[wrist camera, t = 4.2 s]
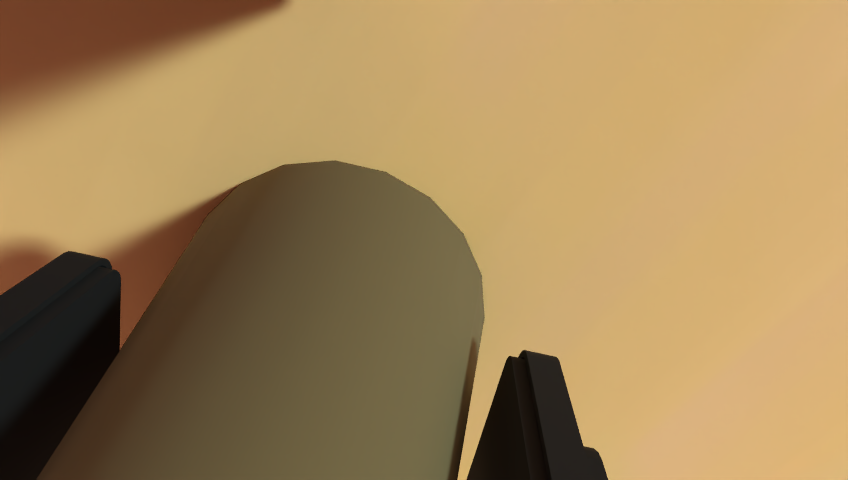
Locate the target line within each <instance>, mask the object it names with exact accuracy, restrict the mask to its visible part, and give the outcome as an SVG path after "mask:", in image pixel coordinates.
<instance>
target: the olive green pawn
mask: <svg viewBox="0 0 848 480" xmlns="http://www.w3.org/2000/svg"><path fill="white" fill-rule="evenodd" d="M483 323H484V304H483V289H482V275H481V273H480V270H479V268H478V266H477V264H476V261H475V259H474V257H473V255H472V252H471V250H470V248H469V246H468V243H467V241H466V239H465V236H464V234H463V233H462V232H461V231H460V230H459V228H458V227H457V226H456V225H455V224H454V223H453V222H452V221H451V220H450V219H449V218H448V216H447V215H446V214H445V213H444V212H443V211H442V210H441V209H440V208H439V207H438V206H437V204H436V203H435V202H434V201H433V200H432V199H431V198H430V197H428V196H426V195H425V194H423V193H421V192H420V191H418V190H416V189H414V188H413V187H411V186H409V185H407V184H406V183H404V182H402V181H400V180H399V179H397V178H395V177H393V176H392V175H390V174H388V173H386V172H383V171H379V170H374V169H370V168H365V167H361V166H357V165H352V164H348V163H343V162H339V161H324V162H312V163H300V164H288V165H283V166H280V167H278V168H276V169H274V170H271V171H269V172H267V173H264V174H262V175H260V176H257V177H255V178H253V179H250V180H248V181H246V182H244V183H241V184H240V185H239V186H238V187H237V188H235V189H234V190H233V191H232V192H231V193H230V194H229V195H228V196H227V197H226V198H225V199H224V200H223V201H222V202H221V203H220V204H219V205H218V206H217V207H216V208H214V209H213V210H212V211H211V212H210V213H209V214H208V215H207V217H206V218H205V220H204V221H203V223H202V225H201V226H200V228H199V229H198V231H197V232H196V234H195V235H194V237H193V238H192V240H191V242H190V243H189V245H188V246H187V248H186V249H185V251H184V252H183V254H182V255H181V257H180V258H179V260H178V262H177V263H176V265H175V266H174V268H173V269H172V271H171V272H170V274H169V275H168V277H167V279H166V280H165V282H164V283H163V285H162V286H161V288H160V289H159V291H158V292H157V294H156V295H155V297H154V299H153V300H152V302H151V303H150V305H149V306H148V308H147V309H146V311H145V312H144V314H143V316H142V317H141V319H140V320H139V322H138V323H137V325H136V326H135V328H134V329H133V331H132V332H131V334H130V336H129V337H128V339H127V340H126V342H125V343H124V345H123V346H122V348H121V349H120V351H119V353H118V354H117V356H116V357H115V359H114V360H113V362H112V363H111V365H110V366H109V368H108V369H107V371H106V373H105V374H104V376H103V377H102V379H101V380H100V382H99V383H98V385H97V386H96V388H95V390H94V391H93V393H92V394H91V396H90V397H89V399H88V400H87V402H86V403H85V405H84V406H83V408H82V410H81V411H80V413H79V414H78V416H77V417H76V419H75V420H74V422H73V423H72V425H71V427H70V428H69V430H68V431H67V433H66V434H65V436H64V437H63V439H62V440H61V442H60V443H59V445H58V447H57V448H56V450H55V451H54V453H53V454H52V456H51V457H50V459H49V460H48V462H47V464H46V465H45V467H44V468H43V470H42V471H41V473H40V474H39V476H38V477H37V479H36V480H457V478H458V472H459V466H460V460H461V454H462V448H463V442H464V436H465V430H466V424H467V418H468V412H469V406H470V400H471V395H472V389H473V383H474V377H475V371H476V365H477V359H478V353H479V347H480V341H481V335H482V329H483Z"/></svg>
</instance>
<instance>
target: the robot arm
mask: <svg viewBox="0 0 848 480" xmlns="http://www.w3.org/2000/svg"><path fill="white" fill-rule="evenodd" d="M120 299H121V277H120V274H119V272H118V271H117V270H112V266H111V264H110V262H109V261H108V260H107V259H105V258H100V257H95V256H91V255H86V254H82V253H77V252H72V251H68V252H65V253H63V254H62V255H60V256H59V257H57V258H56V259H54V260H53V261H51V262H50V263H48V264H47V265H45V266H44V267H42V268H41V269H39V270H38V271H36V272H35V273H33V274H32V275H30V276H29V277H27V278H26V279H24V280H23V281H21V282H20V283H18V284H17V285H15V286H14V287H12V288H11V289H9V290H8V291H6V292H5V293H3V294H2V295H0V480H36V479H37V477H38V476H39V474H40V473H41V471H42V470H43V468H44V467H45V465H46V464H47V462H48V460H49V459H50V457H51V456H52V454H53V453H54V451H55V450H56V448H57V447H58V445H59V443H60V442H61V440H62V439H63V437H64V436H65V434H66V433H67V431H68V430H69V428H70V427H71V425H72V423H73V422H74V420H75V419H76V417H77V416H78V414H79V413H80V411H81V410H82V408H83V406H84V405H85V403H86V402H87V400H88V399H89V397H90V396H91V394H92V393H93V391H94V390H95V388H96V386H97V385H98V383H99V382H100V380H101V379H102V377H103V376H104V374H105V373H106V371H107V369H108V368H109V366H110V365H111V363H112V362H113V360H114V359H115V357H116V356H117V354H118V353H119V348H120ZM467 480H608V478H607V475H606V472H605V468H604V465H603V462H602V459H601V457H600V455H599V453H598V452H597V451H596V450H595V449H594V448H589V447H584V446H583V443H582V440H581V436H580V433H579V429H578V426H577V422H576V419H575V415H574V411H573V408H572V404H571V401H570V397H569V394H568V390H567V387H566V383H565V380H564V376H563V372H562V369H561V365H560V362H559V360H558V358H557V357H554V356H549V355H545V354H540V353H535V352H531V351H526V350H523V351H522V352H521V353H520V355H519V357H518V358H517V357H512V356H509V357H508V358H507V360H506V363H505V366H504V369H503V372H502V375H501V378H500V381H499V384H498V387H497V390H496V393H495V396H494V399H493V402H492V405H491V408H490V411H489V414H488V417H487V420H486V423H485V426H484V429H483V432H482V435H481V438H480V441H479V444H478V447H477V450H476V453H475V456H474V459H473V462H472V465H471V468H470V471H469V474H468V477H467Z"/></svg>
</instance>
